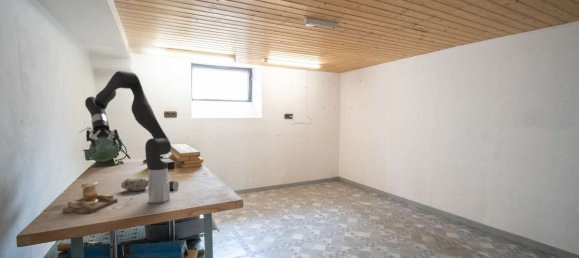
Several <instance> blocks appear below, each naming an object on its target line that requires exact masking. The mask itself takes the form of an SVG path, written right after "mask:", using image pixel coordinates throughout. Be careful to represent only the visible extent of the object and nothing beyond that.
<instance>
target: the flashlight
mask: <svg viewBox="0 0 579 258" xmlns="http://www.w3.org/2000/svg"><path fill="white" fill-rule="evenodd" d="M168 182H170V191H177V190H178V188H179V186H180V185H179V181H177V180H168ZM176 189H177V190H176Z"/></svg>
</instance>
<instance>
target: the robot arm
mask: <svg viewBox="0 0 579 258" xmlns="http://www.w3.org/2000/svg"><path fill="white" fill-rule="evenodd" d="M118 89H125V90H126V89H127V90H128V89H129V90H130V91H131V92H132V95H133V101H132V104H131V113H132V114H133V117H134V119H135V120H136V122H137V123H138V125H140V126H141V127H142V128H144V129H145V130H146V131H147V132H148V133H149V134H150V135H151V136H152V138H149V139H147V141H146V143H145V146H144V147H145V148H144V152H145V161H146V162H145V163H146V166H147V180H148V186H147V187H148V189H147V193H148V203H149V204H161V203H162V204H164V203H165V202H167V201H168V200H170V199H171V190H170V182H168V181H169V179H168V178H169V175H168V173H169V171H168V170H169V168H168V167H169V166H168V162H167V161H164V160H161V156H164V155H167V154H169V153H171V150H172V145H171V142H170V140H169V137H168V136H167V135H166V133H165V131H164V130H163V128H162V127H161V125H160V123H159V121H158V119H157V117H156V115H155V113H154V111H153V109H152V106H151V105H150V103H149V101H148V99H147V97H146V94H145V92H144V89H143V86H142V83H141V80H140V78H139V76H138V75H137V73H135V72H132V71H126V70H125V71H123V70H118V71H116V72H115V73H113V75H112V77H111V78H110V79H109V81H108V82H107V84H106V85H105V86H104V88H103V89H101V90H100V91H99V92H98V93H97V94H96V95H95V96H89V97H88V96H87V98H86V99H85V101H84V105H85V108H86V110H87V111H88V112H89V114H90V117H91V126H92V130H89V129H86V132H85V133H86V134H85V135H86V137H85V138H86V140H85V141H86V142H90V143H91V147H93V148H96V140H98V139H106V138H107V139H108V140H110V141H111V142H112V146H113V147H114V146H115V145H116V144H117V141H118V140H119V138H120V136H119V135H120V134H119V132H118V130H117V129H115V128H114V129H113V130H111V128H110V125H109V124H110V123H109V120H108V117H107V113H106V110H107V108H108V105H109V103H110V102H111V101H113V100H114V99H115V98H116V95H117V90H118ZM91 135H93V136H92V137H90V136H91Z"/></svg>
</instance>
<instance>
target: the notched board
mask: <svg viewBox="0 0 579 258" xmlns="http://www.w3.org/2000/svg"><path fill="white" fill-rule="evenodd" d="M96 199H98V203H97V204H95V202H83V201H85V200H83V196H82V197H79V198H77V199H72V200H70V201H67V206H66V207H64V208H62V212H63V213H76V214H77V213H78V214H79V213H81V214H93V213H95V212H97V211H100V210H102V209H105V208H106V207H108V206H111V205H113V204H115V203H117V202H118V201H119V200H118V198H114V195H113V194H112V195H111V194H97V198H96Z"/></svg>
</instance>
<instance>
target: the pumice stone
mask: <svg viewBox="0 0 579 258" xmlns="http://www.w3.org/2000/svg"><path fill="white" fill-rule="evenodd" d="M120 185H121V186H120V187H121V189H124V190H126V191H128V192H140V191H143V190H145V189H146V188H147V187H148V178H126V179H124V180H123V181H122V182H121V184H120Z"/></svg>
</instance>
